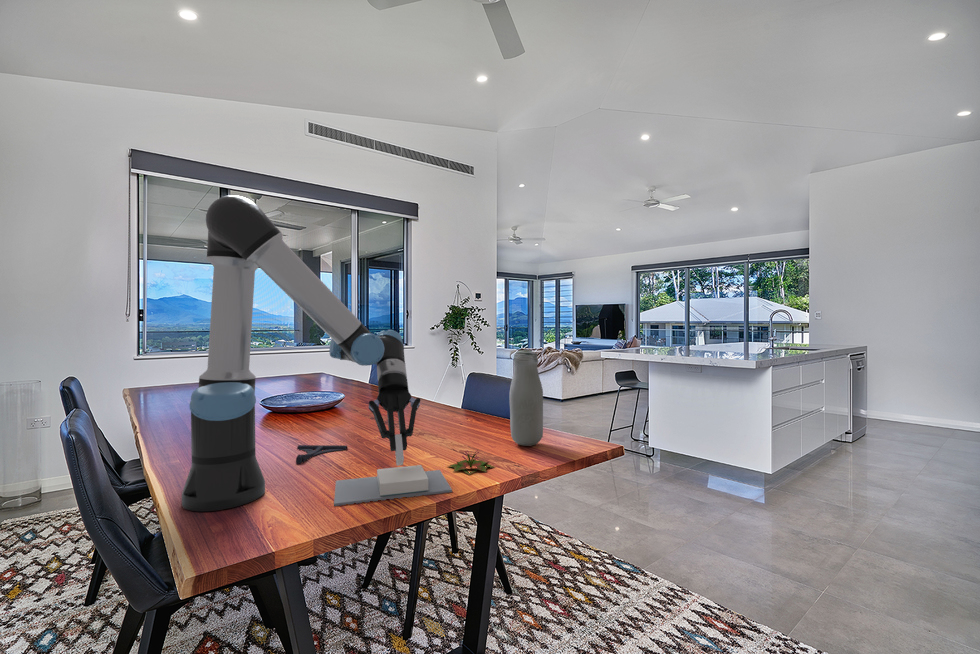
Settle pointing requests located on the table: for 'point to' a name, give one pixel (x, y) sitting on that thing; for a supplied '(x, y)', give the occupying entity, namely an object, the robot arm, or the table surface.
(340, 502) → the mat
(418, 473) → the tile
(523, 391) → the grey bottle
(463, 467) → the lily flower
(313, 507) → the table surface
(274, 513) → the table surface
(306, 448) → the bracket
